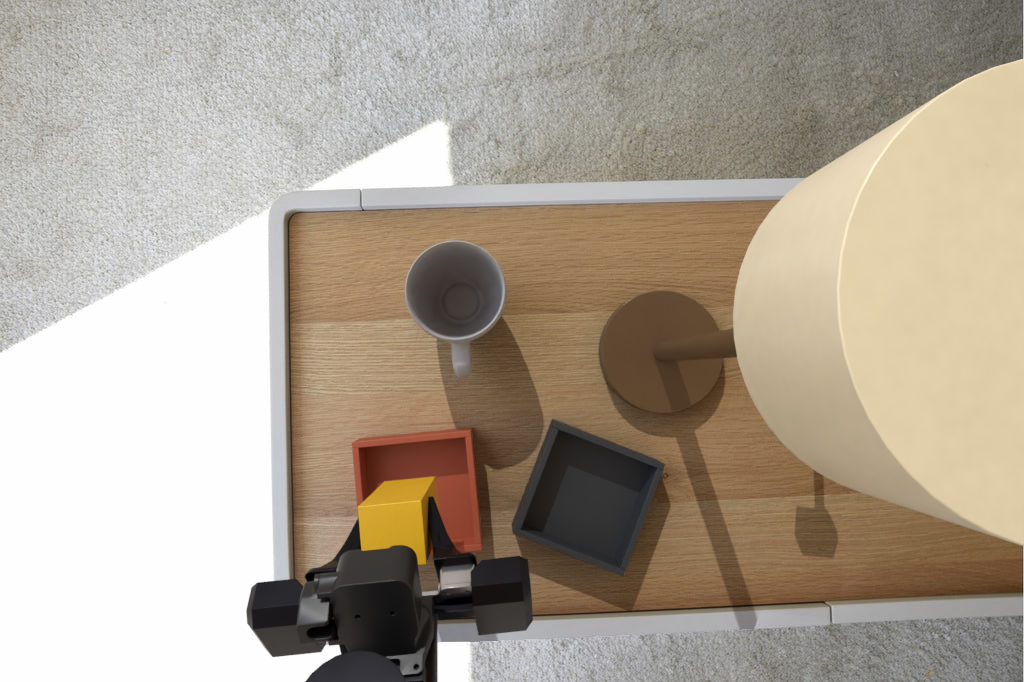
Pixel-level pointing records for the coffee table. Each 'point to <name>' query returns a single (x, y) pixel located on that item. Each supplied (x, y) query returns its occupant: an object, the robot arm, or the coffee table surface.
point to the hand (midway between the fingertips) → (401, 502)
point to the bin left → (427, 475)
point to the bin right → (587, 497)
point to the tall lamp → (876, 315)
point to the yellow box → (398, 516)
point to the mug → (456, 296)
